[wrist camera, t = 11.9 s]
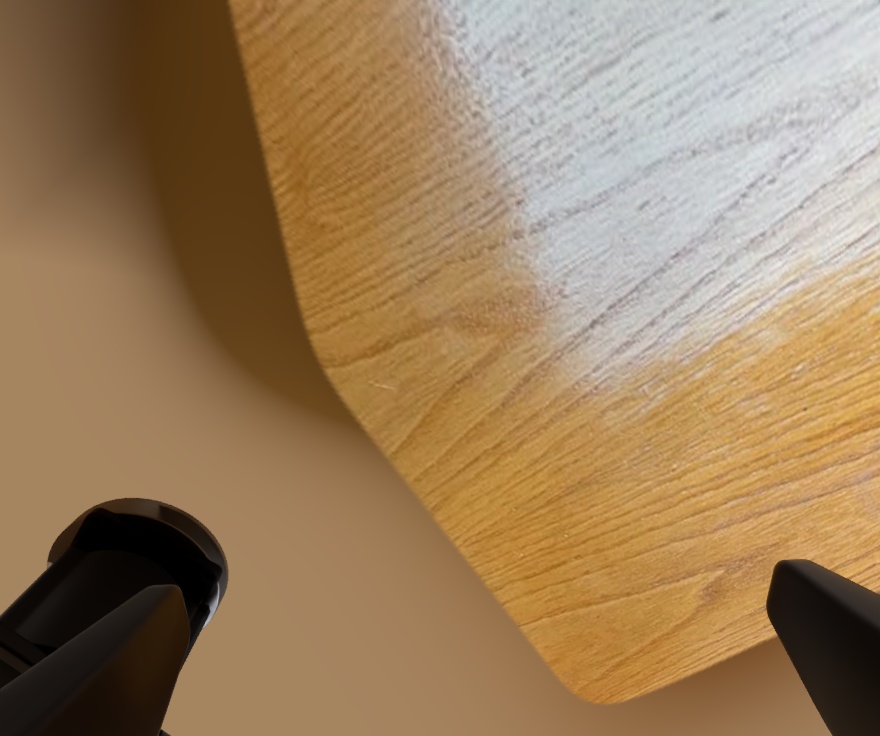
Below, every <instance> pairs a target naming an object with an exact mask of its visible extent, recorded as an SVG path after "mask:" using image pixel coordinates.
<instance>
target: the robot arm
mask: <svg viewBox="0 0 880 736" xmlns="http://www.w3.org/2000/svg"><path fill="white" fill-rule="evenodd" d="M97 518H99V519H100V520H101V521H99V520H98V519H97ZM208 572H209V573H212V574H213V575H210V574H208ZM222 573H223V570H222V568H221V566H219V565H218V564H217V563H214V562H212V561H210V560H208V559H206V558H204V557H202V556H200V555H198V554H196V553H194V552H192V551H190V550H188V549H186V548H184V547H182V546H180V545H178V544H176V543H174V542H172V541H170V540H168V539H166V538H164V537H162V536H160V535H158V534H156V533H154V532H152V531H150V530H148V529H146V528H144V527H142V526H139V525H137V524H135V523H133V522H131V521H129V520H127V519H125V518H123V517H121V516H119V515H117V514H115V513H113V512H111V511H109V510H107V509H104V508H95V509H93V510H92V511H91V512H90V513H89V514H88V515H87V516H86V517H85V519H84V521H83V523H82V524H81V526H80V528H79V530H78V532H77V534H76V535H75V537H74V539H73V541H72V543H71V545H70V546H69V548H68V549H67V550H66V551H65V552H64V553H63V554H62V555H61V556H60V557H59V558H58V559H57V560H56V561H55V562H54V563H53V564H52V565H51V566H50V567H49V568H48V569H47V570H46V571H45V572H44V573H43V574H42V575H41V576H40V577H39V578H38V579H37V580H36V581H35V582H34V583H33V584H32V585H31V586H30V587H29V588H28V589H27V590H26V591H25V592H24V593H23V594H21V596H19V598H17V599H16V600H15V601H14V602H13V604H11V605H10V607H8V609H6V610H5V611H4V612H3V613H2V614H1V616H0V736H170V735H169V734H167V733H166V732H164V731H163V730H160V729H161V726H162V723H163V720H164V717H165V714H166V711H167V708H168V705H169V702H170V699H171V696H172V693H173V690H174V687H175V684H176V681H177V678H178V675H179V672H180V670H181V669H182V666H183V665H184V662H185V661H186V659H187V657H188V655H189V653H190V651H191V649H192V647H193V645H194V643H195V641H196V639H197V637H198V636H199V634H200V632H201V630H202V628H203V626H204V624H205V622H206V620H207V618H208V616H209V614H210V612H211V611H210V607H209V605H207V604H204V602H205V601H206V599H207V598H208V596H209V595H210V593H211V592H212V591H213V589H214V588H215V586H216V585H217V583H218V582H219V580H220V578H221V576H222ZM766 608H767V614H768V617H769V619H770V621H771V623H772V625H773V627H774V629H775V631H776V633H777V635H778V637H779V639H780V640H781V642H782V644H783V646H784V648H785V650H786V652H787V654H788V655H789V657H790V659H791V661H792V663H793V665H794V666H795V668H796V670H797V672H798V674H799V676H800V678H801V680H802V682H803V684H804V685H805V687H806V689H807V691H808V693H809V695H810V697H811V699H812V701H813V702H814V704H815V706H816V708H817V710H818V711H819V713H820V715H821V717H822V719H823V720H824V722H825V724H826V726H827V727H828V729H829V730H830V732H831V734H832V735H833V736H880V595H879V594H877V593H875V592H873V591H871V590H869V589H867V588H865V587H863V586H861V585H859V584H857V583H855V582H853V581H851V580H849V579H847V578H845V577H843V576H841V575H839V574H837V573H835V572H832V571H830V570H828V569H826V568H824V567H822V566H820V565H818V564H816V563H814V562H812V561H810V560H805V559H794V560H781V561H779V562H778V563H777V564H776V565H775V567H774V571H773V575H772V579H771V584H770V588H769V592H768V597H767V602H766Z"/></svg>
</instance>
